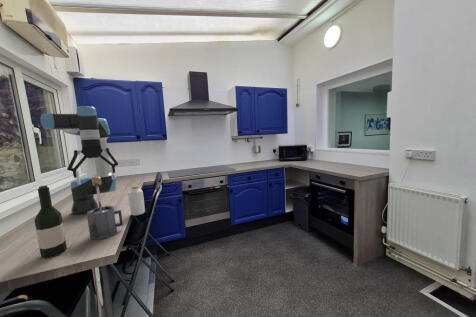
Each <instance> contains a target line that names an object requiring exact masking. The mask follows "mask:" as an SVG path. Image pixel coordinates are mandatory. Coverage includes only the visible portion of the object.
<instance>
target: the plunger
mask: <svg viewBox="0 0 476 317" xmlns="http://www.w3.org/2000/svg"><path fill="white" fill-rule="evenodd" d="M91 179H92V184H93V186H96V189H97V194H96V195H97V201H98V202H97V204H98V208H99V210H100V211H97V212H94V213H93V214H96V213H101V212H105V211H108V210H102V207H103V206H102V201H101V194H100V192H99V185H102V184H101V177H100V176H99V177H95V176H93V177H92V176H91Z"/></svg>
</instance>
